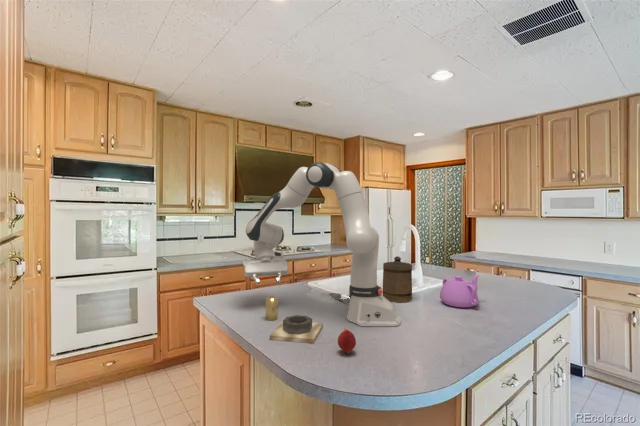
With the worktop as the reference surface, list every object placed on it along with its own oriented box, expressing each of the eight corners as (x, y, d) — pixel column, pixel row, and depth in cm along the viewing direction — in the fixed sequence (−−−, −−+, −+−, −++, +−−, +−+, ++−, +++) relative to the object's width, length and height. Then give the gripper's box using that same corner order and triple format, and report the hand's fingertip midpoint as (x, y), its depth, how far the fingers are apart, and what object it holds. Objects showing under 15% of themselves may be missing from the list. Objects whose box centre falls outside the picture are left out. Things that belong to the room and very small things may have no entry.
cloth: (364, 306, 156) (364, 301, 156) (337, 308, 153) (337, 303, 153) (347, 292, 182) (347, 288, 182) (324, 294, 179) (324, 290, 179)
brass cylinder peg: (279, 317, 138) (279, 296, 138) (275, 321, 133) (275, 299, 133) (268, 316, 139) (268, 295, 139) (263, 320, 134) (263, 298, 134)
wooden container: (415, 297, 170) (415, 255, 170) (407, 304, 157) (407, 259, 157) (388, 293, 177) (388, 254, 177) (378, 300, 165) (378, 257, 165)
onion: (354, 348, 106) (354, 324, 106) (357, 356, 101) (357, 331, 101) (336, 349, 106) (336, 325, 106) (338, 357, 100) (338, 331, 100)
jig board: (322, 327, 126) (322, 314, 126) (313, 343, 111) (313, 329, 111) (283, 324, 130) (283, 311, 130) (269, 339, 114) (269, 325, 114)
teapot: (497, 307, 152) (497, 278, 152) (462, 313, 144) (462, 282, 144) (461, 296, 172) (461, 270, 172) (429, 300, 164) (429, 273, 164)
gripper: (243, 255, 149) (245, 280, 140) (286, 253, 156) (290, 277, 147) (242, 263, 154) (244, 288, 144) (284, 261, 160) (288, 284, 151)
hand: (268, 282), depth 146 cm, fingers open, 8 cm apart
